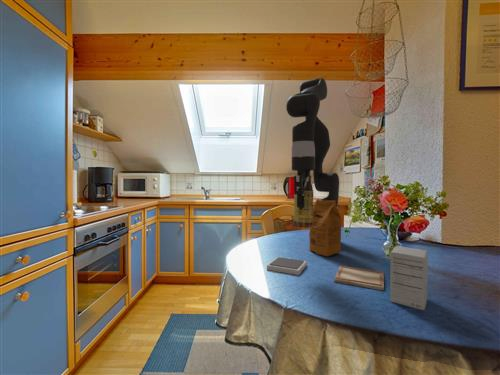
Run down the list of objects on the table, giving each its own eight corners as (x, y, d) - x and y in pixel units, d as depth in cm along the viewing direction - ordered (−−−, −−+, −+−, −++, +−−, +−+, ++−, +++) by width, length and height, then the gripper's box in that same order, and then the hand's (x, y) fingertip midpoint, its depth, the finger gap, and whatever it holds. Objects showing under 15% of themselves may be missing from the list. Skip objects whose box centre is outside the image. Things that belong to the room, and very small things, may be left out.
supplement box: (394, 291, 69) (395, 245, 69) (427, 299, 64) (428, 250, 64) (388, 301, 63) (389, 251, 63) (424, 311, 59) (425, 257, 58)
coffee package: (323, 247, 113) (323, 198, 112) (344, 254, 102) (345, 200, 101) (305, 250, 109) (305, 198, 108) (325, 258, 98) (325, 201, 97)
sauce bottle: (299, 228, 81) (298, 166, 80) (290, 225, 87) (290, 167, 86) (317, 227, 83) (317, 166, 82) (307, 224, 89) (307, 167, 88)
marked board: (340, 268, 87) (340, 265, 87) (383, 274, 81) (383, 271, 81) (334, 281, 75) (334, 278, 75) (383, 290, 70) (383, 286, 70)
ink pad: (277, 261, 95) (277, 256, 95) (306, 265, 90) (306, 260, 90) (266, 269, 86) (266, 264, 86) (298, 275, 81) (298, 269, 81)
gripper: (297, 157, 92) (297, 204, 93) (285, 155, 79) (285, 208, 80) (318, 157, 89) (318, 204, 89) (309, 153, 76) (309, 209, 77)
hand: (303, 206), depth 85 cm, fingers closed on sauce bottle, 6 cm apart
